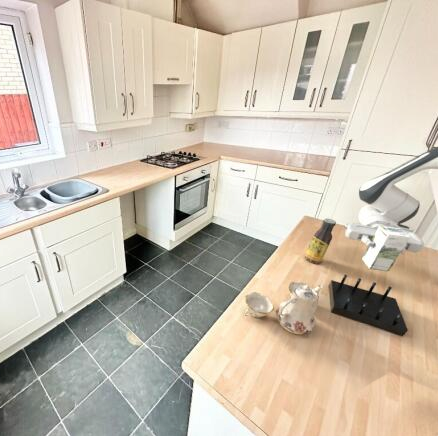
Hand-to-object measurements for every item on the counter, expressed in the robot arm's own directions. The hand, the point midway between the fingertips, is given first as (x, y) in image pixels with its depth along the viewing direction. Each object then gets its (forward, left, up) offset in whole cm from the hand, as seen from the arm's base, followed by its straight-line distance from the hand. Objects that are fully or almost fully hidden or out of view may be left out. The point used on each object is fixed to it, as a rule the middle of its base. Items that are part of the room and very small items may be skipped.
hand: (385, 248), depth 80 cm
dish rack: (+2, +11, -19) cm, 22 cm away
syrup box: (0, -1, -8) cm, 8 cm away
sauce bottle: (+16, -11, -19) cm, 27 cm away
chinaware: (+24, +27, -19) cm, 40 cm away
